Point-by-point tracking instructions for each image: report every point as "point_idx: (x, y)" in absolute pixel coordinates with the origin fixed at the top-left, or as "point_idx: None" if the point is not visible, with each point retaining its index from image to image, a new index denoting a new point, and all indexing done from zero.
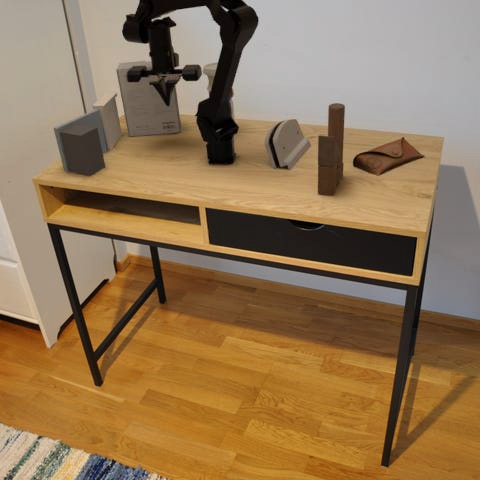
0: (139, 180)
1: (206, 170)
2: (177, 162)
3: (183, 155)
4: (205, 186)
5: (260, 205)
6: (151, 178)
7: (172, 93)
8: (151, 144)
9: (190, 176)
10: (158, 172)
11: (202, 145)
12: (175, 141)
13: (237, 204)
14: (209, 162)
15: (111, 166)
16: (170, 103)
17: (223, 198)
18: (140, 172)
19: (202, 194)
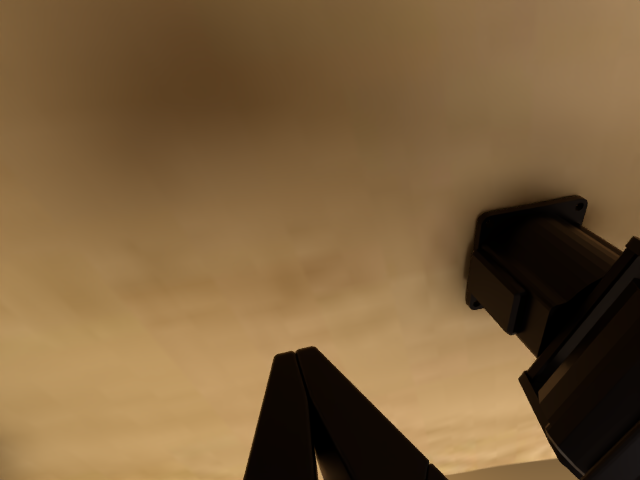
0: (233, 458)
1: (460, 341)
2: (328, 313)
3: (334, 244)
4: (465, 421)
5: None
6: None
7: (417, 454)
8: (44, 127)
9: (409, 389)
10: None
11: (411, 99)
12: (206, 48)
13: (545, 457)
14: (474, 307)
15: (16, 418)
16: (325, 363)
17: (515, 449)
18: (202, 418)
19: (461, 453)
